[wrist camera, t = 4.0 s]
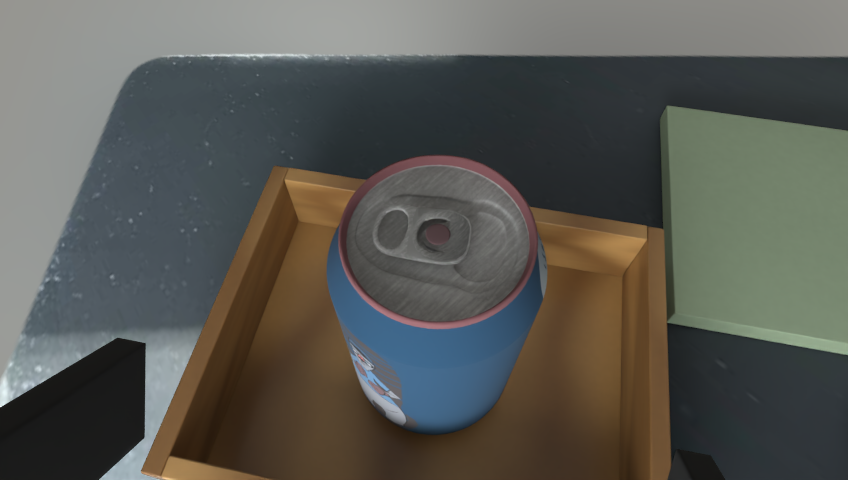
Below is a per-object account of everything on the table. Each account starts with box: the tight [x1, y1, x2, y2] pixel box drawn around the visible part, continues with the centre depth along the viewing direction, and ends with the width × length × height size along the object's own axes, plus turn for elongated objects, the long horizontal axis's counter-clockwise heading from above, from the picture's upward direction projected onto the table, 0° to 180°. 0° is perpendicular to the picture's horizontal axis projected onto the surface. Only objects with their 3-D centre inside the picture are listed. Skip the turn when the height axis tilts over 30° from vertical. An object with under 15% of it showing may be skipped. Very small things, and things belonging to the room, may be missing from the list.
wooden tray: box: [141, 166, 671, 480], centre depth 24 cm, size 19×15×4 cm
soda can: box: [327, 155, 547, 435], centre depth 21 cm, size 7×7×12 cm
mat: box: [660, 106, 848, 355], centre depth 29 cm, size 16×14×1 cm
